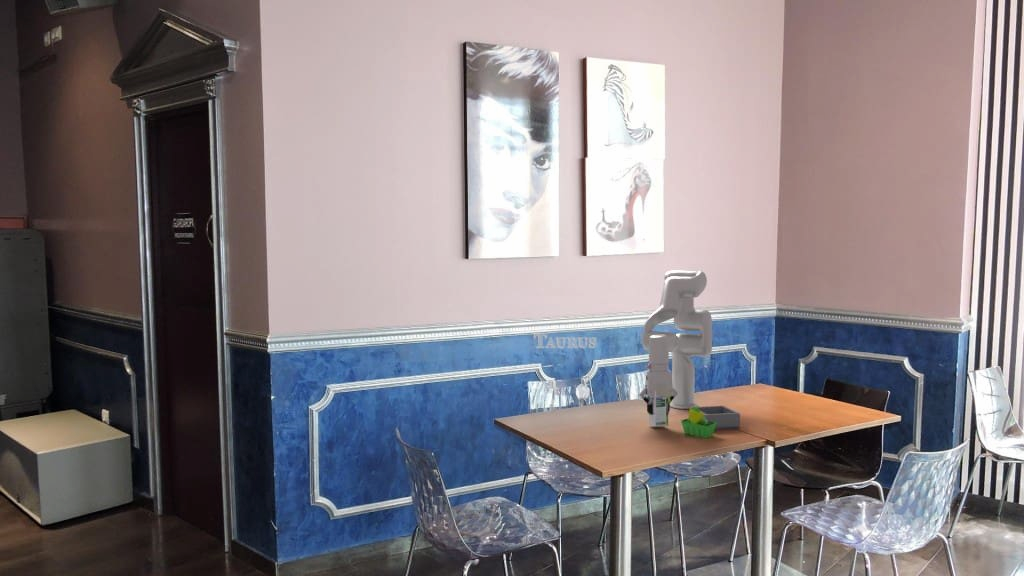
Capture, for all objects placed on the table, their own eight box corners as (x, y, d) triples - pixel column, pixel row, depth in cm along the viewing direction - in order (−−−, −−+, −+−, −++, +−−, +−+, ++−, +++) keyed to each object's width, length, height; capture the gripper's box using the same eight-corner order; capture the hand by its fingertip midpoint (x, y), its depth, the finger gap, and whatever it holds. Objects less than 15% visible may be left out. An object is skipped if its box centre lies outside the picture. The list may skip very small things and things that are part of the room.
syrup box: (654, 427, 305) (655, 389, 304) (648, 423, 311) (648, 386, 309) (668, 426, 306) (668, 388, 305) (661, 422, 312) (661, 385, 311)
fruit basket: (717, 436, 296) (718, 405, 295) (704, 440, 290) (705, 409, 289) (691, 430, 304) (691, 401, 303) (677, 434, 298) (678, 404, 297)
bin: (690, 422, 317) (690, 407, 317) (723, 420, 320) (723, 405, 319) (705, 430, 303) (705, 415, 303) (739, 428, 306) (739, 413, 306)
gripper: (640, 370, 301) (640, 417, 303) (683, 368, 305) (683, 414, 306) (633, 366, 309) (633, 412, 310) (675, 364, 312) (675, 409, 314)
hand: (658, 412), depth 308 cm, fingers closed on syrup box, 6 cm apart
